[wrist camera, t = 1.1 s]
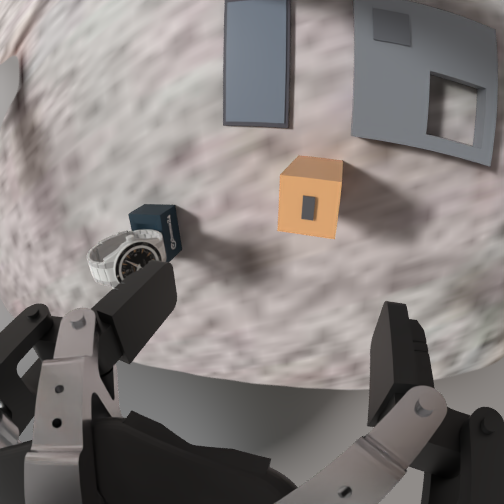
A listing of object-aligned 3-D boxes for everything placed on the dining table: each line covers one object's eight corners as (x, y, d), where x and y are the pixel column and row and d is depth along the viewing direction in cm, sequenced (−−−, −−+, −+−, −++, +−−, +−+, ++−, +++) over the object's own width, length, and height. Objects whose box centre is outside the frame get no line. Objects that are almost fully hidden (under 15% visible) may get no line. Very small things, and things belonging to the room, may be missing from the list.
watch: (196, 251, 34) (142, 308, 24) (141, 245, 36) (84, 292, 27) (190, 204, 31) (126, 251, 22) (133, 203, 33) (67, 243, 24)
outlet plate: (352, -1, 17) (353, -10, 15) (486, 33, 14) (496, 29, 12) (350, 134, 23) (351, 136, 21) (481, 162, 20) (491, 167, 18)
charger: (298, 155, 25) (279, 175, 19) (342, 160, 24) (341, 182, 18) (296, 197, 27) (277, 232, 20) (338, 202, 26) (334, 240, 19)
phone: (227, 124, 26) (222, 125, 26) (228, 2, 20) (224, -1, 19) (289, 127, 25) (287, 128, 24) (291, -2, 19) (289, -6, 18)
